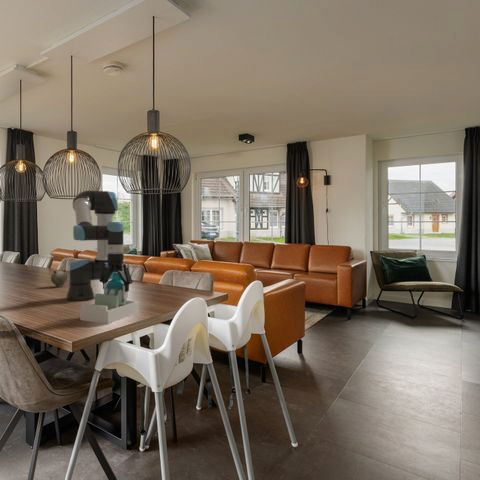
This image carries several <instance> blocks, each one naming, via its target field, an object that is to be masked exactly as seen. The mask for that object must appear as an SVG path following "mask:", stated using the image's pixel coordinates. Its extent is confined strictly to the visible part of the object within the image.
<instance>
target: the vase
mask: <svg viewBox="0 0 480 480" xmlns="http://www.w3.org/2000/svg"><path fill="white" fill-rule="evenodd" d="M123 285H124V283H123V281H122V279H121V277H120V275H119V274H118V273H117V272H116V273H114V274H113V278H112V279H110V280H108V282H107V286H106V290H105V294H107V295H117V296H119V307H121V306H124V305H126V301H127V300H128V298H125V299H123Z"/></svg>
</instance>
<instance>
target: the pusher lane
mask: <svg viewBox="0 0 480 480" xmlns="http://www.w3.org/2000/svg"><path fill="white" fill-rule="evenodd" d="M79 313H80V314H79V315H80V318H79V319H80V321H82V322H91V323H98V324H104V323H107V325H110V324H112V322H113V323H115V322H118V321H120V319H121V320H123V319H122V318H124V319H126V318H128V316H129V317H132V316H135V315H137V314H140V301H136V300H128V299H127V301H126V305H124V306H121V307H118V308H114V309H111V310H108V306H102V305H95V303H93V304H92V303H82V305H81V307H80V312H79ZM136 313H137V314H136ZM134 314H135V315H134ZM131 315H132V316H131ZM125 317H126V318H125ZM117 320H118V321H117ZM114 321H115V322H114ZM109 323H110V324H109Z"/></svg>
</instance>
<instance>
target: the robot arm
mask: <svg viewBox="0 0 480 480" xmlns="http://www.w3.org/2000/svg"><path fill="white" fill-rule="evenodd" d="M118 205H119V204H118V197H117V194H116V193H115V192H114V191H108V190H105V191H103V190H84V191H81V192H80V193H78V194H77V195H75V197H73V200H72V209H73V210H74V213H75V221H76V225H73V228H72V229H73V231H72V232H73V233H72V234H73V240H75V241H82V242H83V241H97V242H96V244H97V245H96V249H97V250H96V255H95V257H94V259H93V260H91V258H81V259H77V260H76V259H75V260H73V261H71V262H70V263H69V267H68V268H69V269H68V270H69V287H68V290H67V294H66V300H67V301H74V302H75V301H86V300H92V299H95V293H94V292H93V287H92V281H99V282H100V283H102V290H103V294H105V290H106V286H107V283H108V282H109V281H110V280H112V278H113V274H114V273H118V274H119V275H120V277H121V279H122V281H123V283H124V285H123V299H125V298H127V299H128V298H129V291H130V285H132V284H133V279H132V275H131V273H130V267H129V266H130V265H129V263H124V255H125V254H124V249H125V248H124V247H125V246H124V245H125V244H124V223H123V222H122V221H113V217H114V215H116V212H117V211H119V206H118ZM91 211H94V215H96V218H97V219H96V220H97V221H96V223H97V224H96V225H93V219H92V214H91Z"/></svg>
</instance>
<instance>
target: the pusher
mask: <svg viewBox="0 0 480 480" xmlns="http://www.w3.org/2000/svg"><path fill="white" fill-rule="evenodd" d="M94 304H95V305H102V306H108V310H111V309H114V308H118V307H119V296H117V295H107V294H104V293H94Z"/></svg>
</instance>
